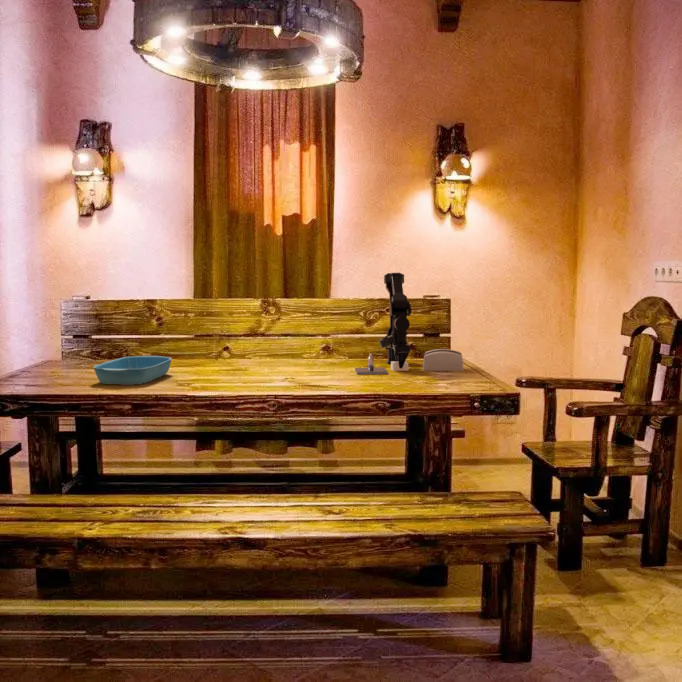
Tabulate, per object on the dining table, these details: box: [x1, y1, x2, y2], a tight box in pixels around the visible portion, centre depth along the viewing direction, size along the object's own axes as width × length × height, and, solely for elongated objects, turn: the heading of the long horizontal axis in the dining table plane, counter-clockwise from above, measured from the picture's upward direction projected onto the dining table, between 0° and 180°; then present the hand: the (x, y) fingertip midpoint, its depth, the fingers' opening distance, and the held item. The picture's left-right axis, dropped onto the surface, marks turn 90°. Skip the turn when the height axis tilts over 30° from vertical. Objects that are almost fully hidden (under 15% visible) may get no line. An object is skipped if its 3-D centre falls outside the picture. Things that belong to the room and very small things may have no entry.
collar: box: [390, 360, 410, 372], centre depth 299 cm, size 6×6×3 cm
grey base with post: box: [354, 353, 388, 376], centre depth 292 cm, size 12×12×8 cm
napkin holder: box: [421, 348, 465, 372], centre depth 296 cm, size 17×5×10 cm, turn 84°
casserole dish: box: [93, 355, 173, 386], centre depth 279 cm, size 37×22×7 cm, turn 172°
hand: (399, 367), depth 299 cm, fingers closed on collar, 6 cm apart
